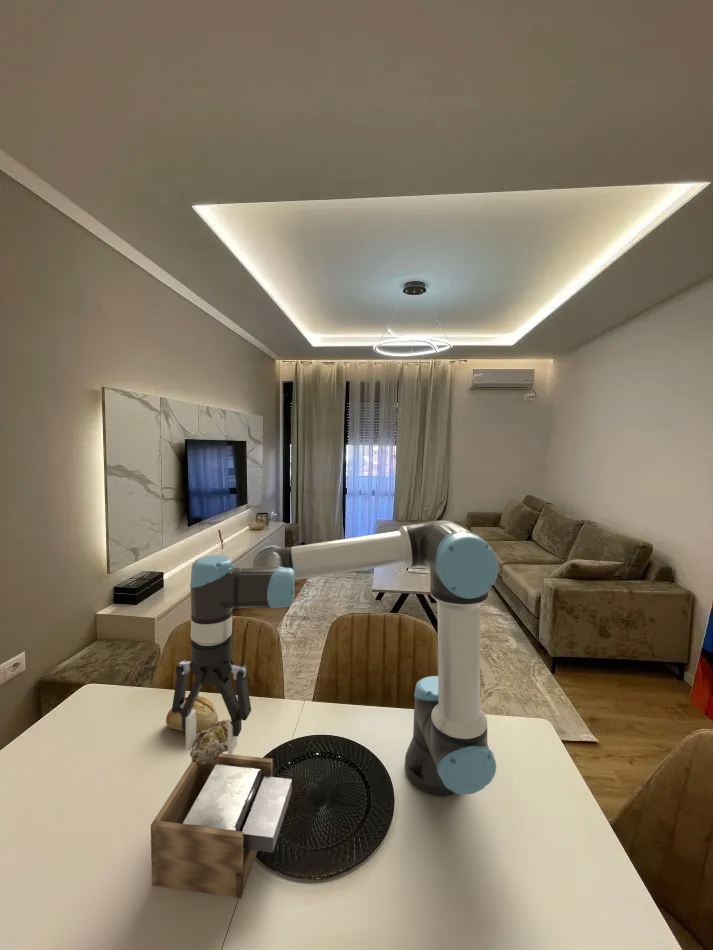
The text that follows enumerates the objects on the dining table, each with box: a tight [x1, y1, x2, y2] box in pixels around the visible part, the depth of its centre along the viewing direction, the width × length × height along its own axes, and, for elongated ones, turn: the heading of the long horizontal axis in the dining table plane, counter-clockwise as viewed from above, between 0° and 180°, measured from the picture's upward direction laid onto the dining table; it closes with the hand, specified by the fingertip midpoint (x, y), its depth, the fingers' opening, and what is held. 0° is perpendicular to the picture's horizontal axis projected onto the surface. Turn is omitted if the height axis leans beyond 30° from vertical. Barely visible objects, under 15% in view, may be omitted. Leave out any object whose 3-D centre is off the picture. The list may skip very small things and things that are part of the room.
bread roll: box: [165, 695, 219, 736], centre depth 117 cm, size 10×15×8 cm, turn 80°
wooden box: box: [150, 752, 274, 899], centre depth 84 cm, size 17×18×12 cm
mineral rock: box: [189, 719, 230, 766], centre depth 82 cm, size 11×4×8 cm
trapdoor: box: [183, 764, 293, 853], centre depth 83 cm, size 17×14×4 cm
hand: (211, 746), depth 82 cm, fingers closed on mineral rock, 8 cm apart
